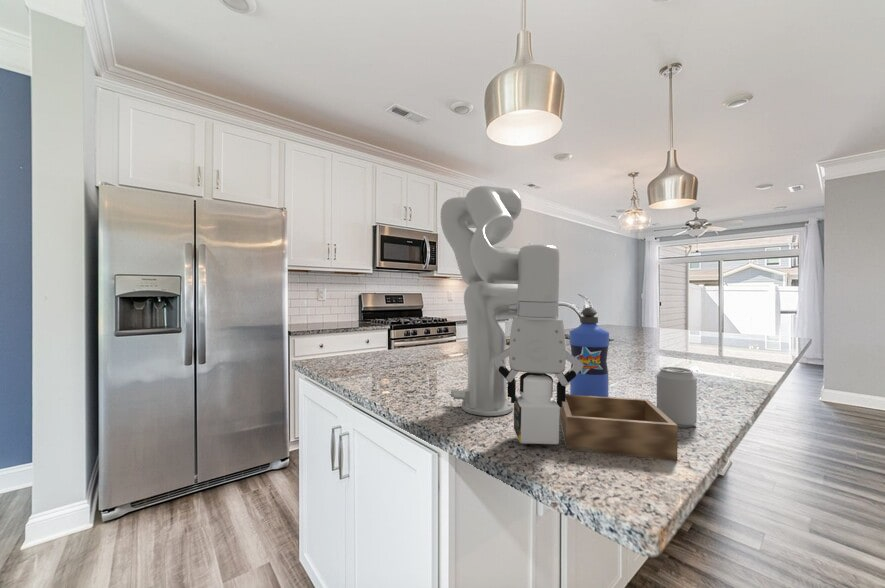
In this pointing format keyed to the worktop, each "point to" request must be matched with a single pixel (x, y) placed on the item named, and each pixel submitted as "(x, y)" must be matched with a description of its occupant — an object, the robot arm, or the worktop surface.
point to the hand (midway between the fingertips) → (535, 402)
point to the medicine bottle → (536, 410)
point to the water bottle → (590, 356)
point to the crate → (617, 427)
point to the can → (677, 395)
